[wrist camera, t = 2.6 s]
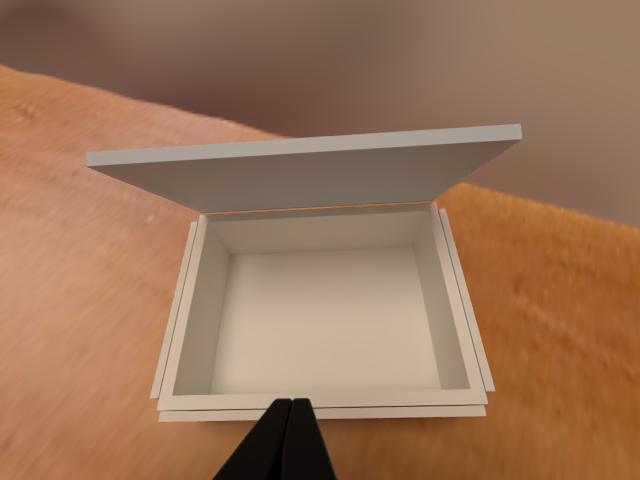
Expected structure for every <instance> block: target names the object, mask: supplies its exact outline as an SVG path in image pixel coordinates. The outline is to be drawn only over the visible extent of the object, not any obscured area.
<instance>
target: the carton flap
mask: <svg viewBox="0 0 640 480" xmlns="http://www.w3.org/2000/svg"><path fill="white" fill-rule="evenodd" d="M520 140H522V133H521V124H513V125H497V126H483V127H482V126H481V127H466V128H452V129H451V128H450V129H435V130H420V131H404V132H390V133H373V134H358V135H343V136H327V137H311V138H296V139H280V140H265V141H250V142H234V143H219V144H203V145H188V146H172V147H157V148H141V149H126V150H111V151H95V152H86V165H85V166H86V167H88V168H91V169H93V170H96V171H98V172H101V173H103V174H106V175H108V176H111V177H113V178H116V179H118V180H121V181H123V182H126V183H129V184H131V185H134V186H136V187H139V188H141V189H144V190H146V191H149V192H151V193H154V194H156V195H159V196H161V197H164V198H166V199H169V200H171V201H174V202H176V203H179V204H181V205H184V206H186V207H189V208H191V209H194V210H196V211H199V212H201V213H212V212H230V211H249V210H268V209H287V208H306V207H325V206H344V205H362V204H381V203H400V202H419V201H433V200H434V199H436V198H437V197H438V196H440V195H441V194H443V193H444V192H446V191H447V190H449V189H450V188H452V187H453V186H455V185H456V184H457V183H459V182H460V181H462V180H463V179H465V178H466V177H468V176H469V175H470V174H472V173H473V172H475V171H476V170H478V169H479V168H481V167H482V166H484V165H485V164H487V163H488V162H489V161H491V160H492V159H494V158H495V157H497V156H498V155H500V154H501V153H503V152H504V151H506V150H507V149H508V148H510V147H511V146H513V145H514V144H516V143H517V142H518V141H520Z"/></svg>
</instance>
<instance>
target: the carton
mask: <svg viewBox="0 0 640 480" xmlns="http://www.w3.org/2000/svg"><path fill="white" fill-rule="evenodd" d="M493 391H495V388H494V384H493V381H492V377H491V373H490V370H489V366H488V363H487V359H486V355H485V352H484V348H483V344H482V341H481V337H480V334H479V330H478V326H477V323H476V319H475V315H474V312H473V308H472V304H471V301H470V297H469V294H468V290H467V286H466V283H465V279H464V275H463V272H462V268H461V265H460V261H459V257H458V254H457V250H456V246H455V243H454V239H453V236H452V232H451V228H450V225H449V221H448V217H447V214H446V210H445V209H437V205H436V203H420V204H401V205H382V206H363V207H344V208H325V209H306V210H287V211H268V212H249V213H230V214H211V215H200V218H199V222H192V223H191V227H190V231H189V236H188V240H187V244H186V248H185V252H184V257H183V261H182V265H181V269H180V274H179V278H178V282H177V286H176V290H175V295H174V299H173V303H172V307H171V312H170V316H169V320H168V324H167V328H166V333H165V337H164V341H163V345H162V350H161V354H160V358H159V362H158V366H157V371H156V375H155V379H154V383H153V388H152V392H151V396H150V399H159V401H158V406H157V410H156V411H170V412H160V415H159V420H158V422H174V421H232V420H259V419H260V418H261V416H262V415H263V414H264V412H265V411H266V410H267V409H268V407H269V406H270V405H271V403H272V402H273V401H274V400H275V399H277V398H291V399H292V401H293V399H294V398H309V399H310V401H311V404H312V406H313V409H314V412H315V415H316V418H317V419H346V418H404V417H461V416H487V415H486V411H485V408H484V405H483V406H468V405H482V404H488V401H487V397H486V392H493Z"/></svg>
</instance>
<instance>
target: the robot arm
mask: <svg viewBox="0 0 640 480" xmlns="http://www.w3.org/2000/svg"><path fill="white" fill-rule="evenodd" d="M212 480H338V479H337V476H336V473H335V470H334V467H333V464H332V461H331V459H330V456H329V453H328V450H327V447H326V444H325V441H324V438H323V435H322V432H321V430H320V427H319V424H318V421H317V418H316V415H315V412H314V409H313V406H312V404H311V401H310V399H309V398H294V399H293V401H292V399H291V398H277V399H275V400H274V401H273V402H272V403H271V405H270V406H269V407H268V409H267V410H266V411H265V412H264V414H263V415H262V416H261V418H260V419H259V420H258V421H257V423H256V424H255V425H254V426H253V428H252V429H251V430H250V432H249V433H248V434H247V435H246V437H245V438H244V439H243V441H242V442H241V443H240V444H239V446H238V447H237V448H236V450H235V451H234V452H233V453H232V455H231V456H230V457H229V459H228V460H227V461H226V462H225V464H224V465H223V466H222V468H221V469H220V470H219V471H218V473H217V474H216V475H215V476H214V478H213V479H212Z"/></svg>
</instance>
